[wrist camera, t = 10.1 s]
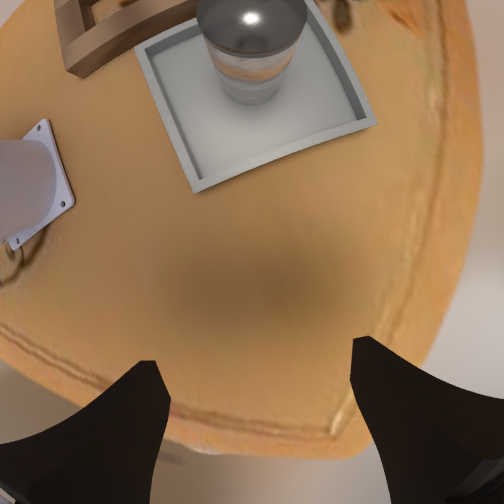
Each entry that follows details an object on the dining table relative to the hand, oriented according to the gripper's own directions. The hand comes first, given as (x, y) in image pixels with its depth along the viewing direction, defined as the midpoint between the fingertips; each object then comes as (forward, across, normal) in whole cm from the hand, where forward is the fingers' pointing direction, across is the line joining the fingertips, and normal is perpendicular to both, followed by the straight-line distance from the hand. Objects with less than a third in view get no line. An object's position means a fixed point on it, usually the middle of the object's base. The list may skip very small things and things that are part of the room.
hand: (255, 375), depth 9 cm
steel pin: (+10, -2, -13) cm, 16 cm away
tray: (+10, -2, -13) cm, 17 cm away
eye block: (+10, +7, -23) cm, 26 cm away
